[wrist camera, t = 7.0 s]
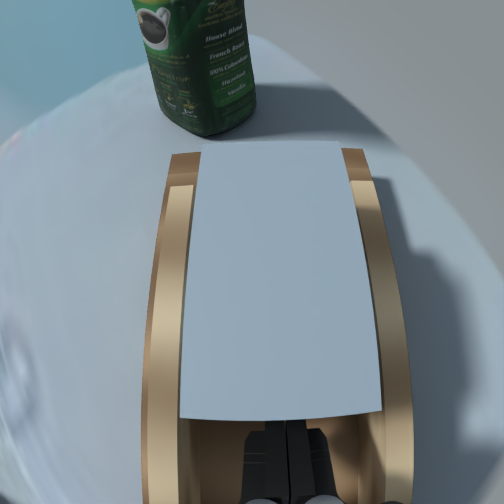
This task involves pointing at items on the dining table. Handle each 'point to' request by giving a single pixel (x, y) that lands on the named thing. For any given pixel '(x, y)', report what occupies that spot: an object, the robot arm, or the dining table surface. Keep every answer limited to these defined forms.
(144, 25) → the coffee jar
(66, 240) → the dining table surface
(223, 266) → the block
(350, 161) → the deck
